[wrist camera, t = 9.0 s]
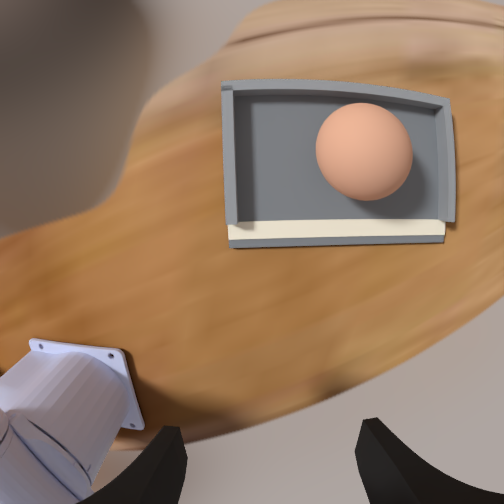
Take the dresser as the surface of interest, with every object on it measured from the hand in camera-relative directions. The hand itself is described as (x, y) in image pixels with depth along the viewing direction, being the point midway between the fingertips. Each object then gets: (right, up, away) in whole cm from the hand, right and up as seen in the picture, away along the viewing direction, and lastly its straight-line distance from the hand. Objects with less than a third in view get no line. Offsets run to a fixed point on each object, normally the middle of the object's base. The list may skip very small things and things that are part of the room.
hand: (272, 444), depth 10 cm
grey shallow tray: (+5, +13, +7) cm, 15 cm away
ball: (+5, +12, +4) cm, 14 cm away
